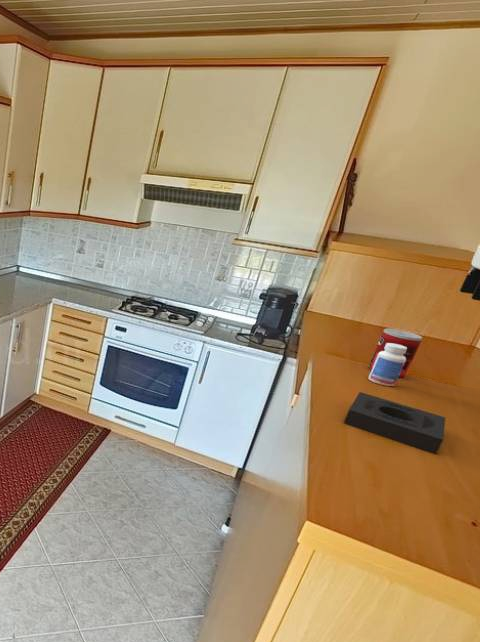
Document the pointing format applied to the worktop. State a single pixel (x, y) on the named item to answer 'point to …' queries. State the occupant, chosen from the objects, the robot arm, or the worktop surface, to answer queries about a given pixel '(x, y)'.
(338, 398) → the worktop surface
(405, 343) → the canned food
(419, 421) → the socket pad
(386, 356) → the pill bottle
